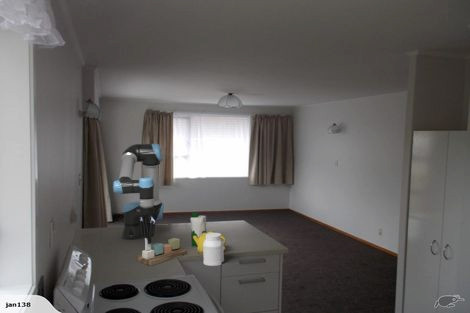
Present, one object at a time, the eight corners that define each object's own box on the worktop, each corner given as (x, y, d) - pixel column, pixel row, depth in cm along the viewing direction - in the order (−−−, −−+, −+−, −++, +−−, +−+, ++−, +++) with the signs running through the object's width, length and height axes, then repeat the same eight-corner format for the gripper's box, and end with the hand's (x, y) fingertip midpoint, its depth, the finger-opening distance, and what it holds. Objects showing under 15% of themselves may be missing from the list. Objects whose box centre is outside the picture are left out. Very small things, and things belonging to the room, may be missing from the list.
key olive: (168, 248, 214) (168, 239, 214) (174, 246, 217) (174, 237, 217) (173, 249, 211) (173, 240, 211) (179, 247, 214) (179, 239, 214)
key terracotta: (160, 254, 209) (159, 245, 209) (166, 252, 213) (166, 243, 213) (165, 255, 206) (165, 247, 206) (171, 253, 210) (171, 245, 210)
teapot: (189, 253, 214) (189, 233, 213) (197, 247, 225) (197, 228, 225) (222, 256, 208) (221, 235, 207) (228, 249, 220) (228, 230, 219)
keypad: (135, 260, 203) (135, 256, 202) (171, 249, 222) (170, 245, 221) (151, 266, 193) (151, 261, 193) (186, 254, 212) (186, 249, 212)
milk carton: (194, 243, 235) (193, 211, 234) (208, 243, 233) (207, 212, 232) (189, 247, 226) (189, 214, 225) (204, 247, 224) (203, 215, 223)
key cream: (142, 259, 200) (142, 250, 200) (149, 257, 204) (149, 248, 204) (147, 261, 197) (147, 252, 197) (154, 259, 201) (154, 250, 201)
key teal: (151, 253, 205) (151, 244, 205) (158, 251, 208) (157, 242, 208) (156, 254, 202) (156, 245, 202) (163, 252, 205) (163, 243, 205)
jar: (219, 266, 191) (218, 238, 190) (201, 265, 193) (201, 237, 192) (225, 259, 202) (224, 232, 201) (208, 258, 204) (207, 231, 204)
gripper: (133, 206, 201) (135, 248, 202) (148, 208, 192) (149, 253, 193) (145, 204, 206) (146, 245, 208) (160, 206, 198) (161, 249, 199)
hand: (148, 249), depth 200 cm, fingers closed
